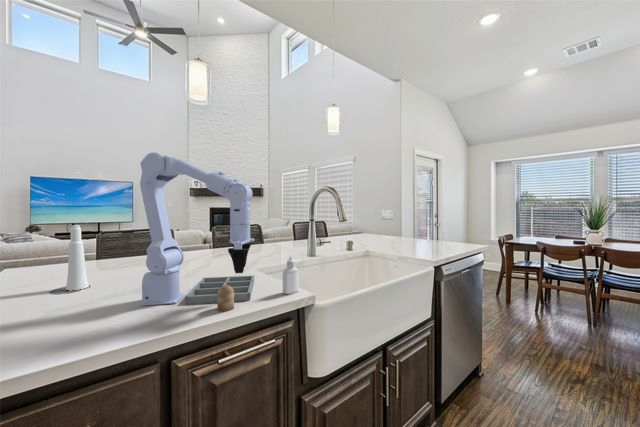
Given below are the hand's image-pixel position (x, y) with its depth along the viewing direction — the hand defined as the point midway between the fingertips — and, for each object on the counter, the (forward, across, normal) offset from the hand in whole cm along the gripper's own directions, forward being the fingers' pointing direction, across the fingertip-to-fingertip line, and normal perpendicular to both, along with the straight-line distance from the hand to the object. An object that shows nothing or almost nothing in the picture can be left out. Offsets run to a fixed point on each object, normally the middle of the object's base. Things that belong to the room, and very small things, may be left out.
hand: (240, 269), depth 81 cm
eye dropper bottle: (+10, +7, -16) cm, 20 cm away
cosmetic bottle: (+10, +25, +57) cm, 63 cm away
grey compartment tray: (+10, +12, +6) cm, 17 cm away
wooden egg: (+10, -4, +4) cm, 11 cm away
